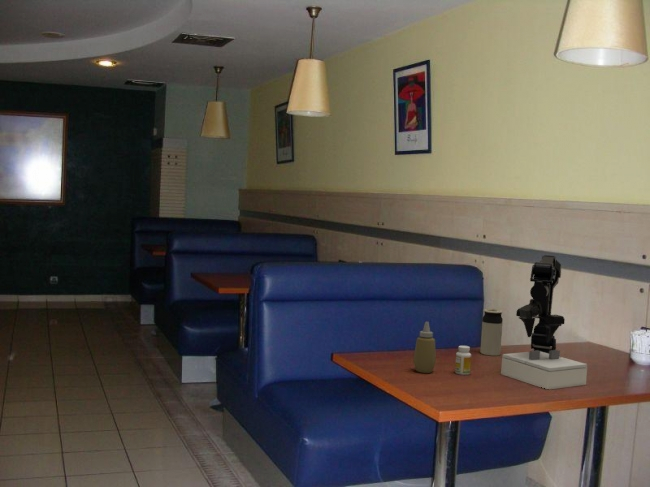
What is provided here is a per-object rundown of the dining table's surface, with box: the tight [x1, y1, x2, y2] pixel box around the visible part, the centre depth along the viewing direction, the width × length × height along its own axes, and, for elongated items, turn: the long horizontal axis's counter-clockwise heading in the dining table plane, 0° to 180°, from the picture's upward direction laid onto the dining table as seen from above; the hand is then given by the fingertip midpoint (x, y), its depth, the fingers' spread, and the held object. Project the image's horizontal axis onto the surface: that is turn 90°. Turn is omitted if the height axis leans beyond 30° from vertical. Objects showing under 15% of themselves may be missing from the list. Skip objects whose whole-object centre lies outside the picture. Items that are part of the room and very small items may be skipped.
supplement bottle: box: [454, 345, 472, 376], centre depth 265 cm, size 5×5×10 cm
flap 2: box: [526, 349, 588, 371], centre depth 257 cm, size 18×11×4 cm, turn 120°
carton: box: [500, 357, 588, 390], centre depth 262 cm, size 19×22×6 cm
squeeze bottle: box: [413, 321, 437, 374], centre depth 265 cm, size 8×8×18 cm
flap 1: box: [502, 350, 562, 364], centre depth 267 cm, size 18×11×4 cm, turn 120°
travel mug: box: [479, 308, 504, 357], centre depth 301 cm, size 8×8×18 cm
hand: (538, 339), depth 268 cm, fingers open, 9 cm apart
